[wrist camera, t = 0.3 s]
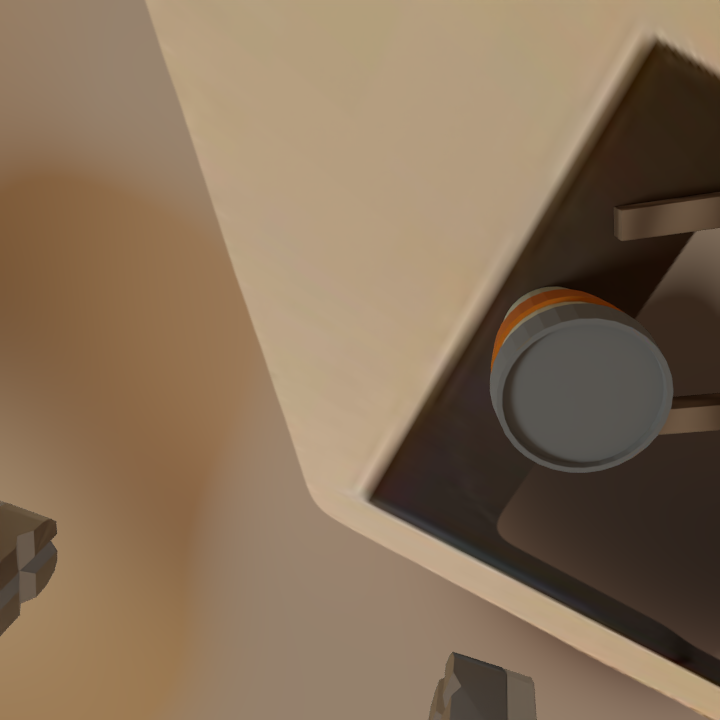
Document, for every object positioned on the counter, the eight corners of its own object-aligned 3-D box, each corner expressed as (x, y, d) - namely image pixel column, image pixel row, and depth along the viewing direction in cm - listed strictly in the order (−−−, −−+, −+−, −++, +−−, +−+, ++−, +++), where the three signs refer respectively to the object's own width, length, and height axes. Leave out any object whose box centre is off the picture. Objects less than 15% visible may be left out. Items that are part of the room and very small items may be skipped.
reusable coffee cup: (619, 258, 53) (679, 303, 39) (621, 387, 57) (676, 470, 44) (475, 275, 56) (484, 324, 42) (487, 399, 60) (499, 481, 46)
